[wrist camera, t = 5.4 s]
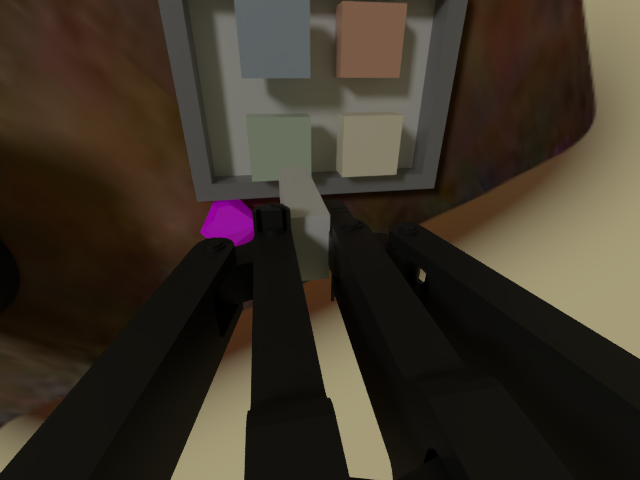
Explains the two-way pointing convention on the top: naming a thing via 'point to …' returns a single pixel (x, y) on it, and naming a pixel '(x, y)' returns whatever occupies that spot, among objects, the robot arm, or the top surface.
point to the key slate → (273, 38)
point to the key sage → (278, 143)
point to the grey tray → (307, 96)
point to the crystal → (229, 221)
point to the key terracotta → (369, 39)
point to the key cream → (368, 143)
